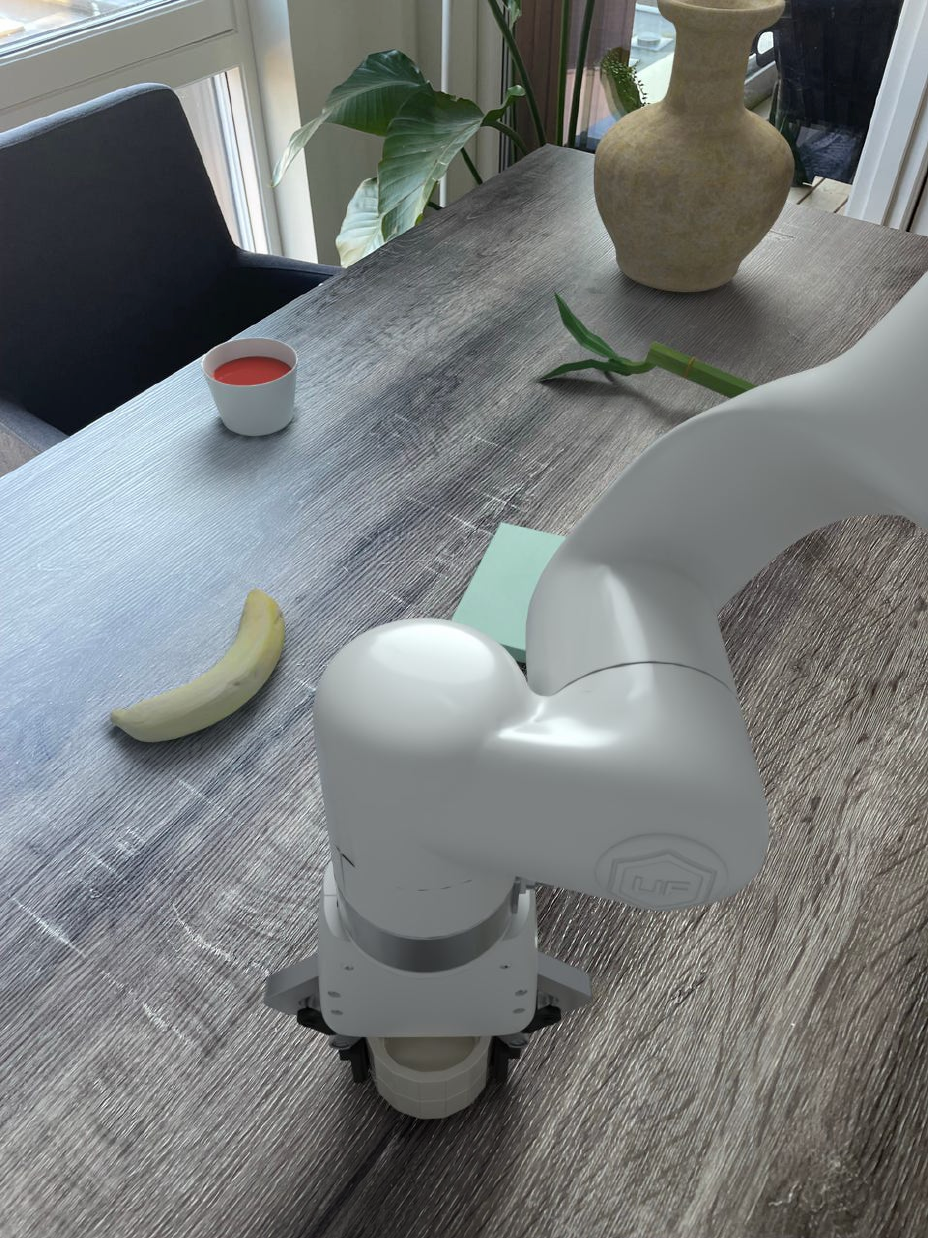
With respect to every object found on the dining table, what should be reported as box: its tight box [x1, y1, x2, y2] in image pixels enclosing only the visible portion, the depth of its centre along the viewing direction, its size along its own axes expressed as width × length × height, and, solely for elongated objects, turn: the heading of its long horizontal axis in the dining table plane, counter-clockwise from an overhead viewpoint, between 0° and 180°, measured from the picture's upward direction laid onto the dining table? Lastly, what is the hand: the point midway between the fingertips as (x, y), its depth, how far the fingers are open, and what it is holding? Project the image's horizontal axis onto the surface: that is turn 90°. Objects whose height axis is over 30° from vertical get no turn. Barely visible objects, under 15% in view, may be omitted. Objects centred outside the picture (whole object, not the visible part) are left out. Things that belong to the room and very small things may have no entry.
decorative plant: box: [537, 291, 759, 399], centre depth 101 cm, size 6×8×30 cm
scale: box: [450, 522, 567, 664], centre depth 79 cm, size 16×14×3 cm
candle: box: [200, 336, 299, 437], centre depth 97 cm, size 9×9×6 cm
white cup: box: [365, 1036, 495, 1120], centre depth 52 cm, size 7×7×6 cm
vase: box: [593, 0, 796, 293], centre depth 112 cm, size 22×22×30 cm
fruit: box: [109, 588, 286, 743], centre depth 72 cm, size 7×15×3 cm, turn 145°
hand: (430, 1053), depth 54 cm, fingers closed on white cup, 6 cm apart
